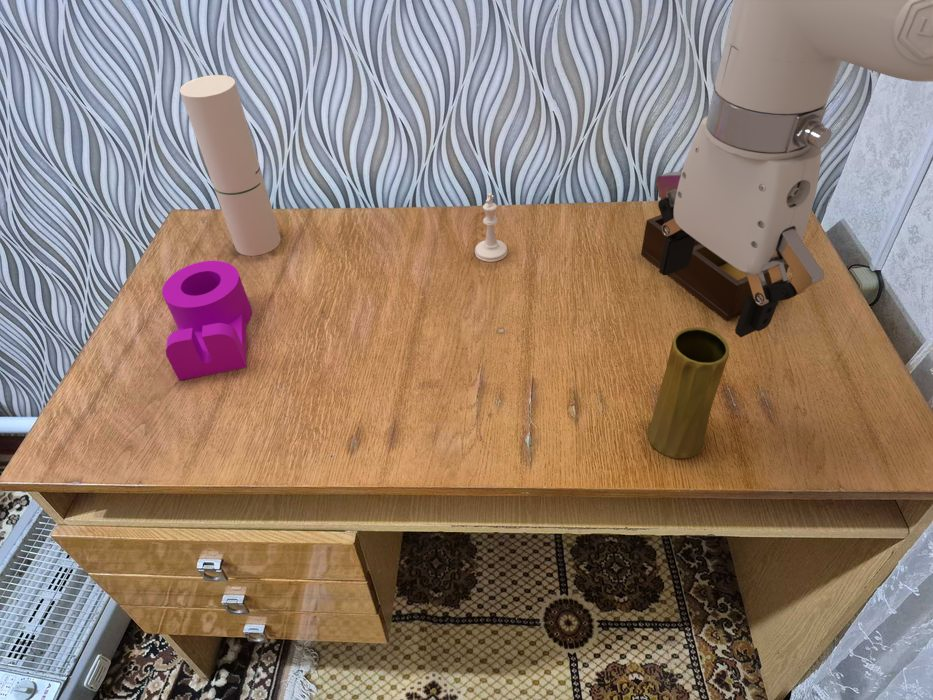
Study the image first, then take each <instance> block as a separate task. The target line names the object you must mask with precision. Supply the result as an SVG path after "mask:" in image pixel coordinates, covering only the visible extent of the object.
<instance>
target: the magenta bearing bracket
mask: <svg viewBox="0 0 933 700" xmlns="http://www.w3.org/2000/svg"><path fill="white" fill-rule="evenodd" d="M161 295H162V297H163V299H164V301H165V304H166V306H167V308H168V310H169V311H170V314H171V316H172V318H173V320H174V322H175V325H176V326H177V330H176V331H173V332H171V333H170V334H169V335H168V336H167V340H166V347H165V356H166V358H167V360H168V362H169V364H170V366H171V368H172V370H173V372H174V374H175V376H176V378H177V380H178V381H185V380H190V379H195V378H200V377H204V376H210V375H214V374H215V375H216V374H220V373H224V372H230V371H234V370H240V369H245V368H247V325H248V324H249V322H250V320H251V318H252V314H253V310H252V306H251V303H250V301H249V298H248V295H247V293H246V290H245V286H244V285H243V281H242V279H241V276H240V273H239V271H238V269H237V268H236V266H234V265H233V264H231V263H229V262H226V261H221V260H204V261H199V262H195V263H192V264H189V265H186V266H184V267H182V268H181V269H179V270H176V272H174V273H173V274H171V275H170V276H169V278H167V280H166V281H165V283H164V284H163V286H162V289H161Z"/></svg>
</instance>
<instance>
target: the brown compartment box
mask: <svg viewBox="0 0 933 700" xmlns="http://www.w3.org/2000/svg"><path fill="white" fill-rule="evenodd" d="M663 224H665V223H664V220H663V218H662V215H661V214H659V215H656V216H654V217H651V218H649V219H646V223H645V228H644V233H643V234H644V235H643V240H642V245H641V252H640V255H641V256H642V257H644V258H645V260H647V261H649V262H650V263H651V264H652V265H654V266H655V267H656V268H658V270H659V269H660V264H661V259H662V255H663V250H664V245H665V241H666V238H667V236H665V235H664V234H663V232H662V225H663ZM783 264H784V267H785V271H786V274H788V273H787V272H788V270H789V268H790V267H789V266H788V264H787V263H786V261H785V260H783ZM763 274H764V277H765V281H766V284H767V285H770V284H772V282H771V278H770V275H769V271H768V270H765V271H763ZM667 276H668V277H669V278H671V280H673V281H674V282H676V283H677V284H678V285H679V286H680V287H682V289H685V290H686V291H687V292H689V293H690V294H691V295H692V296H693V297H695V298H696V299H697V300H699V301H700V302H701V303H702V304H704V305H705V306H706V307H708V308H709V309H710V310H712V311H713V312H714V313H715V314H716V315H718V316H719V317H721V318H722V319H723V320H724V321H725V322H728V321H731V320H732V319H735V318H737V317H739V316H740V314H741V311H742V308H743V305H744V302H745V300H746V299H747V298H748V297H750V296H752V295H753V294H752V291H751V288H750V284H749V281H748V278H747V274H746V273H744V272H742V271H740V270H738V269H737V268H735V267H734V266H732V265H731V264H729V263H728V262H726V261H725V260H723V259H722V258H720V257H719V256H718V255H716V254H715V253H713V252H712V251H711V250H709V249H708V248H706V247H705V246H704V245H702V244H701V243H700V242H698V241H697V240H695V244H694V248H693V252H692V256H691V260H690V264H689V266H688V267H686V268H684V269H681V270H679V271H676V272H674V273H671V274H669V275H667Z"/></svg>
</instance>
